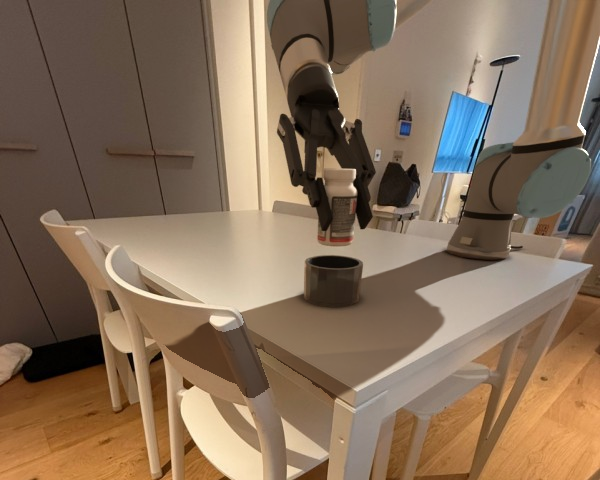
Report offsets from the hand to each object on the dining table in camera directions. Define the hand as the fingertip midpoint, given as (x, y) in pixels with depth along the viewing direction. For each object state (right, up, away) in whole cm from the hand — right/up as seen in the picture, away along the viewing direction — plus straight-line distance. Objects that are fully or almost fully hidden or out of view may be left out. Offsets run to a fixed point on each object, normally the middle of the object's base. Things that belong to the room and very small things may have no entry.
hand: (347, 223), depth 49 cm
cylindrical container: (-1, -8, +10) cm, 13 cm away
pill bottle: (-1, -1, +5) cm, 5 cm away
